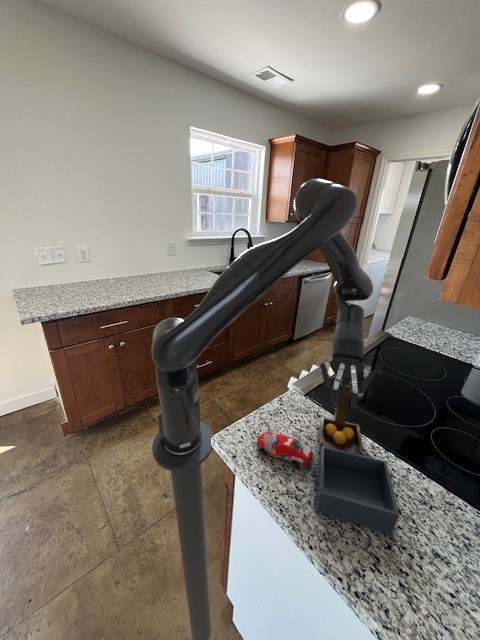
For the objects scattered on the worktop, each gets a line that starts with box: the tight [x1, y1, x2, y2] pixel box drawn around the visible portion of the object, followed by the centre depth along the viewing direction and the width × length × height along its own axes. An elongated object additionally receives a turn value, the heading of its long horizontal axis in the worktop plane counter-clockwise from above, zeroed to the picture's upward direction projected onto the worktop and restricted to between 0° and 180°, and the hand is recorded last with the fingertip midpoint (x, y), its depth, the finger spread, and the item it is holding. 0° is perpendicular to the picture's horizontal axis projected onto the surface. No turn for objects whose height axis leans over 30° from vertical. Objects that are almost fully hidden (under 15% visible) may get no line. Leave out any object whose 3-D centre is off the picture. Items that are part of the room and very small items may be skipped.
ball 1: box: [325, 424, 337, 436], centre depth 67 cm, size 3×3×3 cm
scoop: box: [318, 384, 364, 456], centre depth 64 cm, size 11×9×13 cm
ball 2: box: [333, 431, 346, 445], centre depth 65 cm, size 3×3×3 cm
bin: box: [316, 446, 400, 535], centre depth 53 cm, size 13×11×6 cm
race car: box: [256, 431, 313, 468], centre depth 63 cm, size 13×5×4 cm, turn 63°
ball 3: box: [341, 427, 354, 440], centre depth 66 cm, size 3×3×3 cm
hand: (343, 407), depth 65 cm, fingers open, 3 cm apart
